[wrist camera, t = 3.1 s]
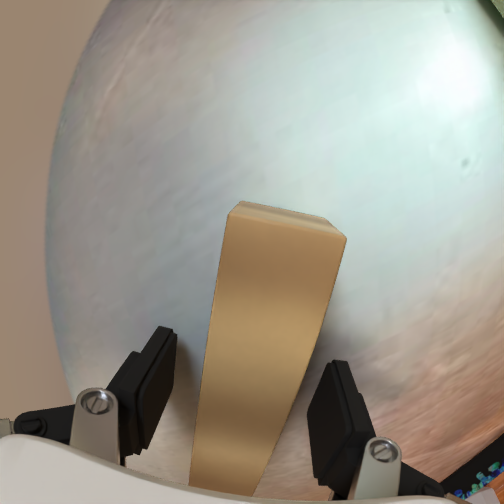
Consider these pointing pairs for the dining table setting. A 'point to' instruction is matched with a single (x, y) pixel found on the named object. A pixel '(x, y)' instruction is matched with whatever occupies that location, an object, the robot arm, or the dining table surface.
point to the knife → (476, 471)
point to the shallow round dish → (499, 6)
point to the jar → (483, 497)
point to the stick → (260, 339)
